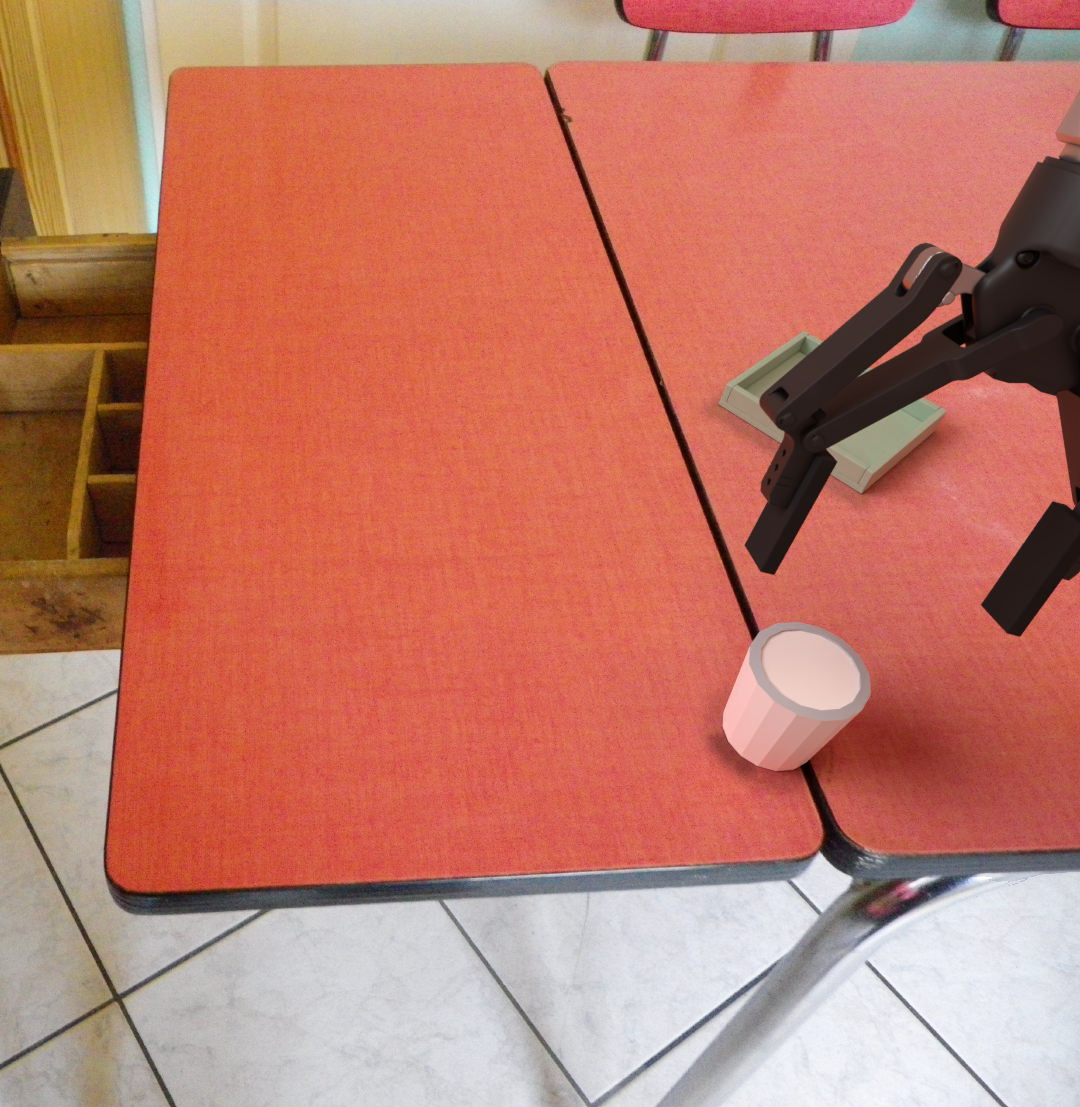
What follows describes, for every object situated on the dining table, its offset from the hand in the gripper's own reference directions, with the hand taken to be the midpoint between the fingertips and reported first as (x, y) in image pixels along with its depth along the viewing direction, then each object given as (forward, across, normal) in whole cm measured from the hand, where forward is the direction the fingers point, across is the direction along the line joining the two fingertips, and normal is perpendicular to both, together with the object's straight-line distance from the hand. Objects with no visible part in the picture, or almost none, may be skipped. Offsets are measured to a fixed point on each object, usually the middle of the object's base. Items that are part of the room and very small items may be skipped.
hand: (880, 591), depth 53 cm
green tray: (+1, -11, -33) cm, 35 cm away
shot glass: (+14, -2, -5) cm, 14 cm away
